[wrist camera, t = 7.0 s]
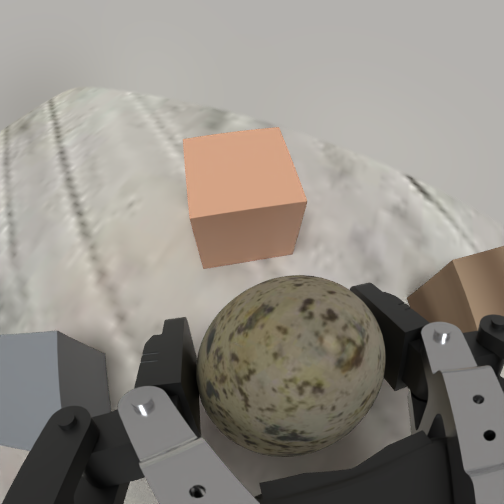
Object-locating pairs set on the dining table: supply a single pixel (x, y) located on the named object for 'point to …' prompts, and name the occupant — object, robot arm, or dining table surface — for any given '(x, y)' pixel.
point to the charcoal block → (46, 383)
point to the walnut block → (463, 291)
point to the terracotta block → (242, 196)
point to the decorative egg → (291, 365)
